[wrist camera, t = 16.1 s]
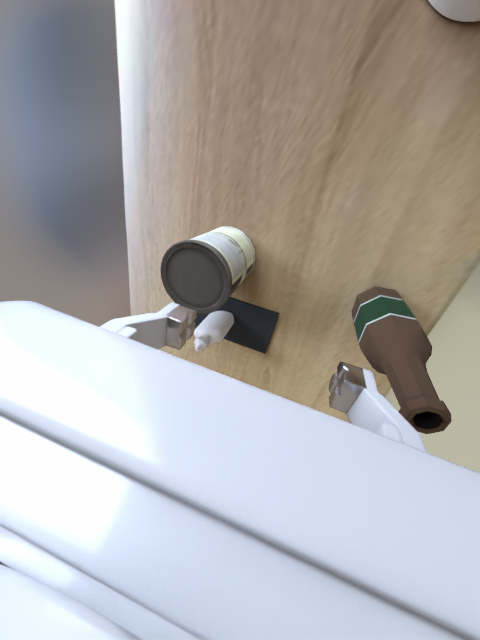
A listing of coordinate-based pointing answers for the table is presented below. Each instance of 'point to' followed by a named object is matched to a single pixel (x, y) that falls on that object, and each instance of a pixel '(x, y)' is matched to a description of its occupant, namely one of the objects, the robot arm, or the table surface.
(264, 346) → the mat
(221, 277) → the coffee can
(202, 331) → the eye dropper bottle
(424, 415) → the beer bottle
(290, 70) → the table surface
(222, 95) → the table surface
